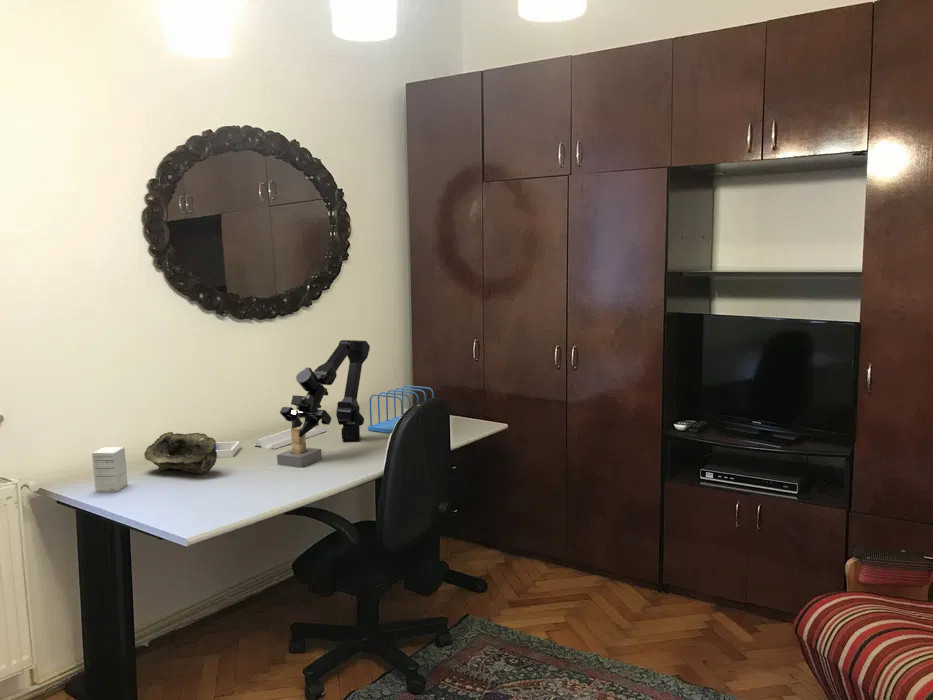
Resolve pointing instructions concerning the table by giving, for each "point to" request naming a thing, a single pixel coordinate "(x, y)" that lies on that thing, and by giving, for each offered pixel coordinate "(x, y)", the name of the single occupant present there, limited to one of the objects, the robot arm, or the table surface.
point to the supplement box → (109, 469)
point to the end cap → (299, 457)
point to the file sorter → (389, 424)
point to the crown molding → (283, 438)
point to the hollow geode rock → (183, 452)
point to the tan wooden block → (298, 441)
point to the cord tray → (227, 445)
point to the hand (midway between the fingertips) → (296, 435)
